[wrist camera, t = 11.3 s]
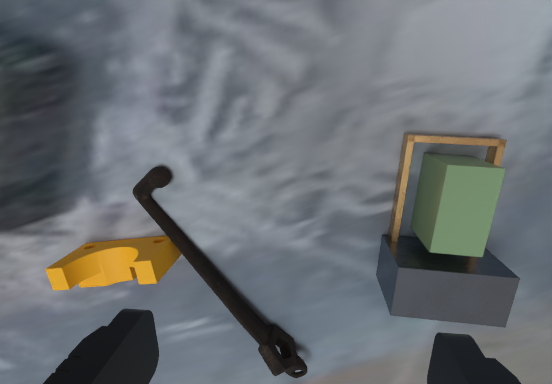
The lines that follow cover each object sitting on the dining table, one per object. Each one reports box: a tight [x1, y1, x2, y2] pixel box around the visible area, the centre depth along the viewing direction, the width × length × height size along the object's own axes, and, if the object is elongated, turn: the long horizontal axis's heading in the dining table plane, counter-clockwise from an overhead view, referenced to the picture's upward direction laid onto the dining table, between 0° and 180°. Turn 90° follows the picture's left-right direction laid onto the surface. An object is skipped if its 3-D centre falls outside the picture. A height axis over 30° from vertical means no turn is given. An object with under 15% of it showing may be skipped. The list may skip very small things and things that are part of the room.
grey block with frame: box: [376, 133, 520, 327], centre depth 30 cm, size 16×10×7 cm, turn 178°
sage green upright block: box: [410, 153, 506, 257], centre depth 30 cm, size 8×4×6 cm, turn 177°
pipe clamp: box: [46, 236, 181, 290], centre depth 36 cm, size 12×4×6 cm, turn 98°
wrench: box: [133, 167, 307, 378], centre depth 36 cm, size 5×5×30 cm
